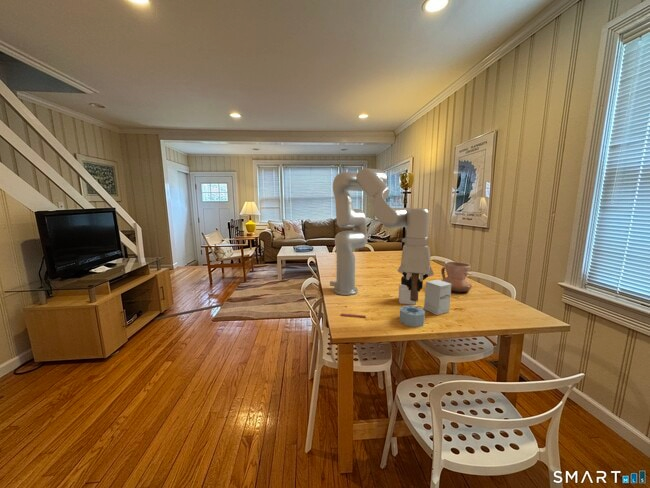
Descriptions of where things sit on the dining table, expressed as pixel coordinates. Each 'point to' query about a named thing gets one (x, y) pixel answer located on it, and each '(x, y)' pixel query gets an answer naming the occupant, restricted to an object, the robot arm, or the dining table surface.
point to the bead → (412, 316)
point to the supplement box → (437, 297)
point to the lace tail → (353, 315)
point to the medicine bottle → (405, 292)
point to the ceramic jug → (457, 275)
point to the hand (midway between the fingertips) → (414, 289)
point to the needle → (414, 286)
